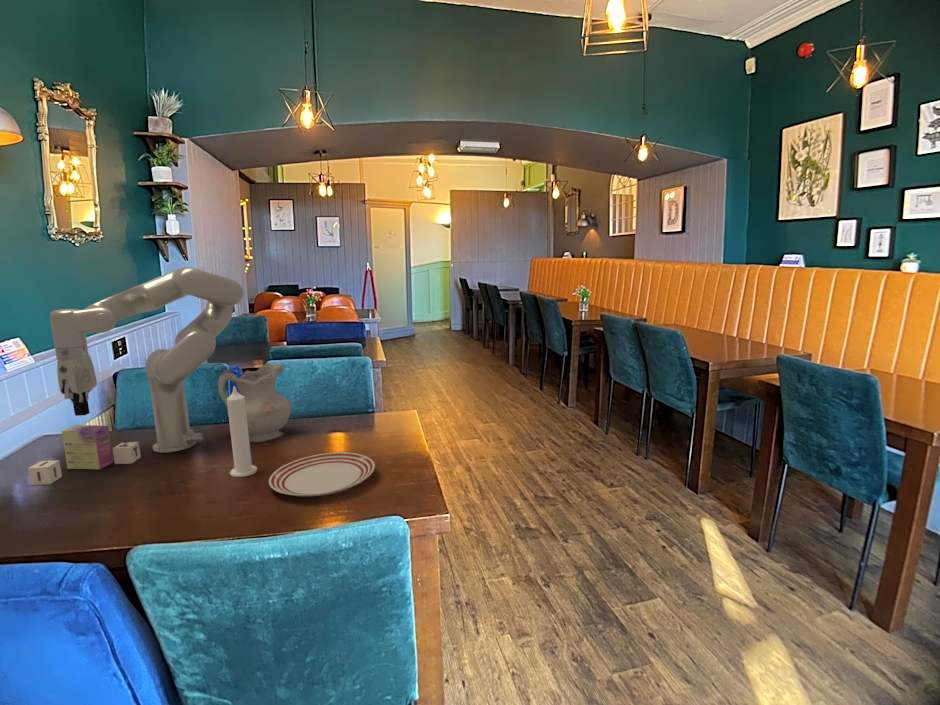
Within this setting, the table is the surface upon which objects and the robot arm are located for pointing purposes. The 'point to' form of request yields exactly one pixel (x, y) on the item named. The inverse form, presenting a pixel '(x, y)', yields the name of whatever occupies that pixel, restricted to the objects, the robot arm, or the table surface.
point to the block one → (45, 472)
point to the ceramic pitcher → (260, 401)
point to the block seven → (126, 453)
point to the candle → (239, 436)
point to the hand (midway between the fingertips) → (82, 414)
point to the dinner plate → (322, 474)
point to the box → (87, 447)
